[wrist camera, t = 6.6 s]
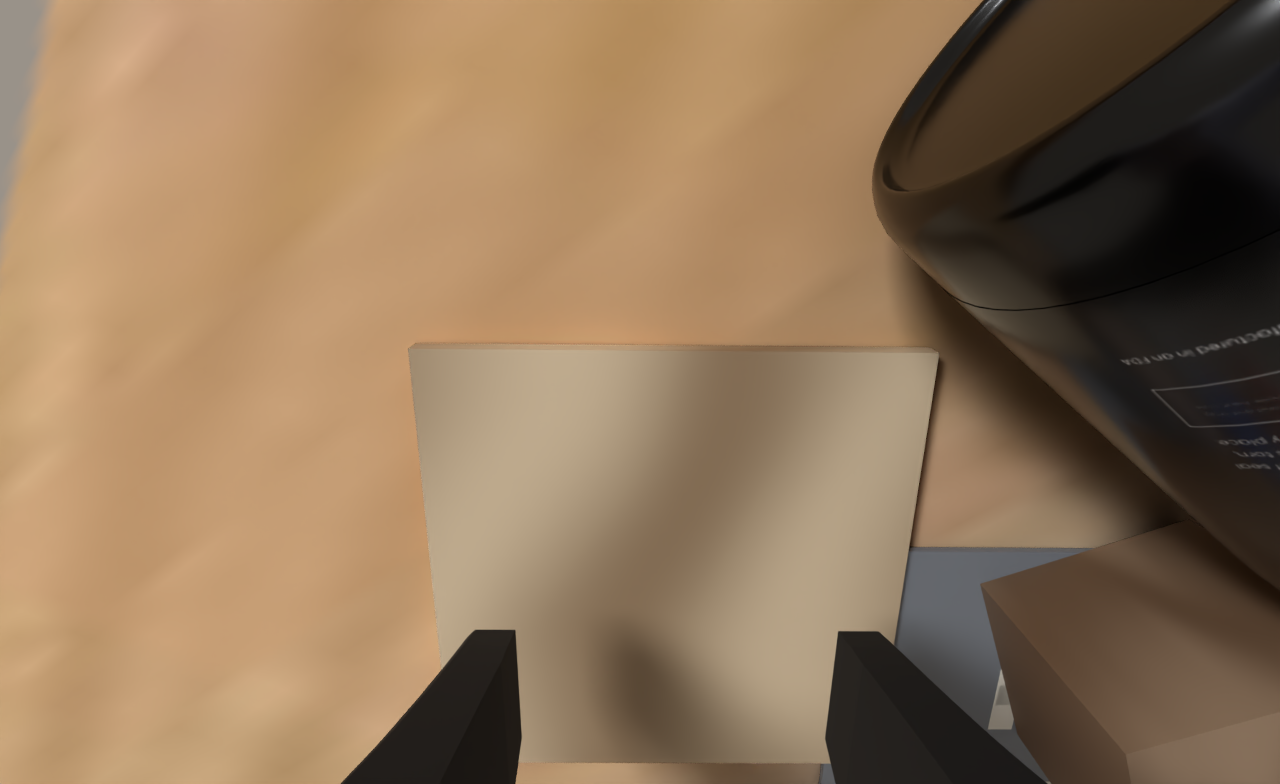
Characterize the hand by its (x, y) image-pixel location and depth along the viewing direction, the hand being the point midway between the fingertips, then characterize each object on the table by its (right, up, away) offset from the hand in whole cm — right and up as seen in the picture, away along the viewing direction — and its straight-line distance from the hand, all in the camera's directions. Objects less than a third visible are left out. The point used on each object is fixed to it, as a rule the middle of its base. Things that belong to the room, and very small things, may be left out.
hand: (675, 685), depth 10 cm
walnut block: (+7, -2, +2) cm, 7 cm away
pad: (0, +1, +3) cm, 3 cm away
